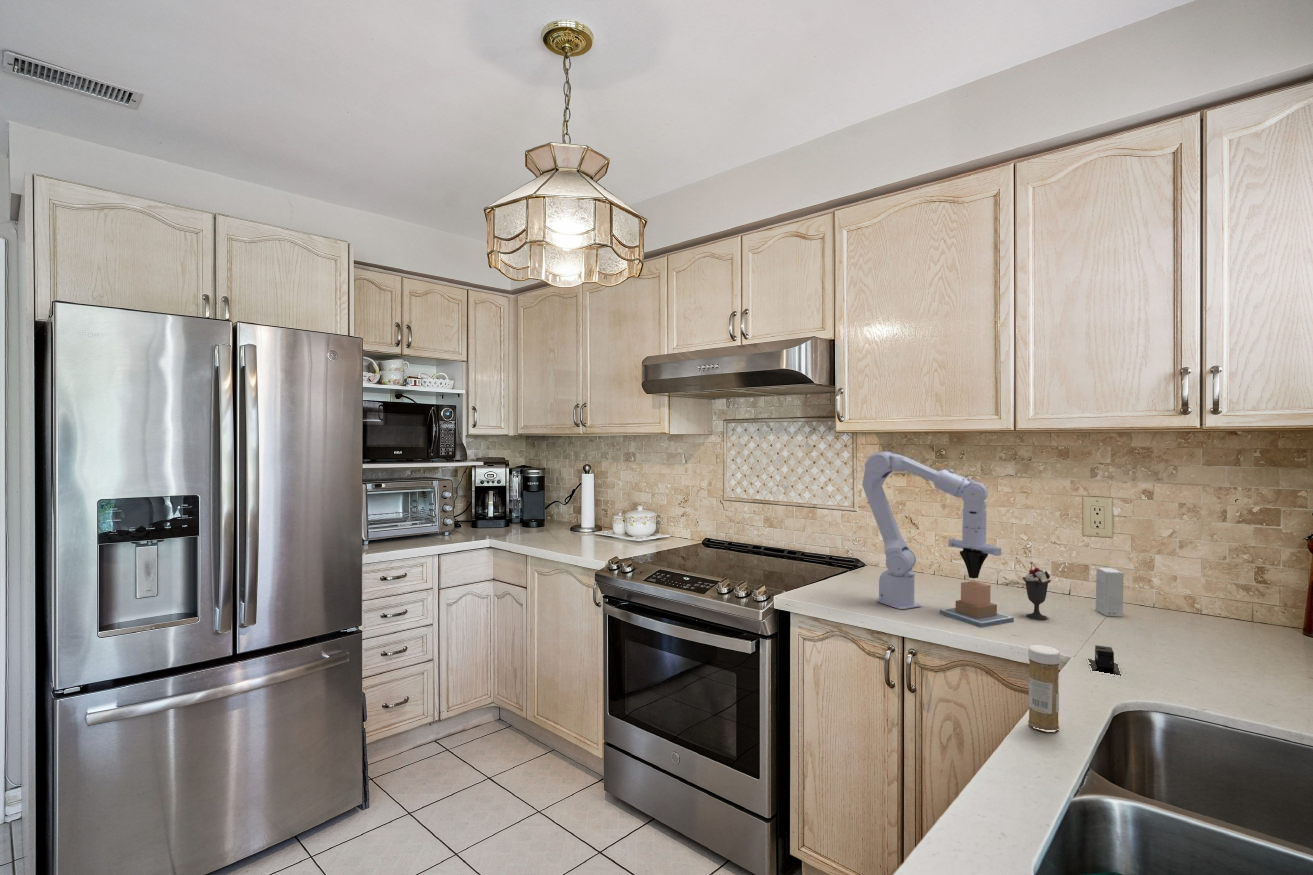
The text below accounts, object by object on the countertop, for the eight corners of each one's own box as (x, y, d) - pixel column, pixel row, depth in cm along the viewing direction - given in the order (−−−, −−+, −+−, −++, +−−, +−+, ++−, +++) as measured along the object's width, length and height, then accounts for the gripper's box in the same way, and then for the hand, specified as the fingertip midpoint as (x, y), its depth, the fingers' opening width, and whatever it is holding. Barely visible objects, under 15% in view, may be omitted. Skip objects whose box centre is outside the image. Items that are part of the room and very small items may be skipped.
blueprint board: (939, 613, 172) (939, 598, 172) (971, 608, 177) (971, 594, 177) (981, 627, 161) (981, 611, 160) (1013, 621, 165) (1013, 606, 165)
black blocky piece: (1081, 657, 141) (1081, 637, 141) (1121, 663, 138) (1121, 642, 137) (1087, 676, 130) (1087, 654, 130) (1131, 684, 127) (1131, 661, 127)
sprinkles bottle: (1065, 730, 106) (1066, 651, 106) (1047, 736, 104) (1048, 654, 104) (1039, 719, 110) (1040, 642, 110) (1021, 724, 108) (1022, 645, 108)
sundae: (1021, 618, 168) (1021, 562, 168) (1023, 611, 174) (1023, 557, 174) (1050, 622, 165) (1050, 565, 164) (1051, 615, 170) (1051, 560, 170)
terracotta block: (960, 601, 170) (960, 582, 170) (974, 599, 172) (974, 580, 172) (976, 606, 165) (977, 586, 165) (990, 603, 167) (990, 585, 167)
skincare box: (1123, 617, 169) (1124, 572, 169) (1105, 616, 170) (1106, 571, 170) (1112, 610, 175) (1112, 567, 175) (1094, 609, 176) (1095, 567, 176)
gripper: (940, 524, 174) (940, 573, 175) (988, 532, 161) (988, 585, 162) (958, 522, 178) (957, 570, 178) (1007, 530, 165) (1006, 582, 165)
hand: (973, 577), depth 170 cm, fingers closed
